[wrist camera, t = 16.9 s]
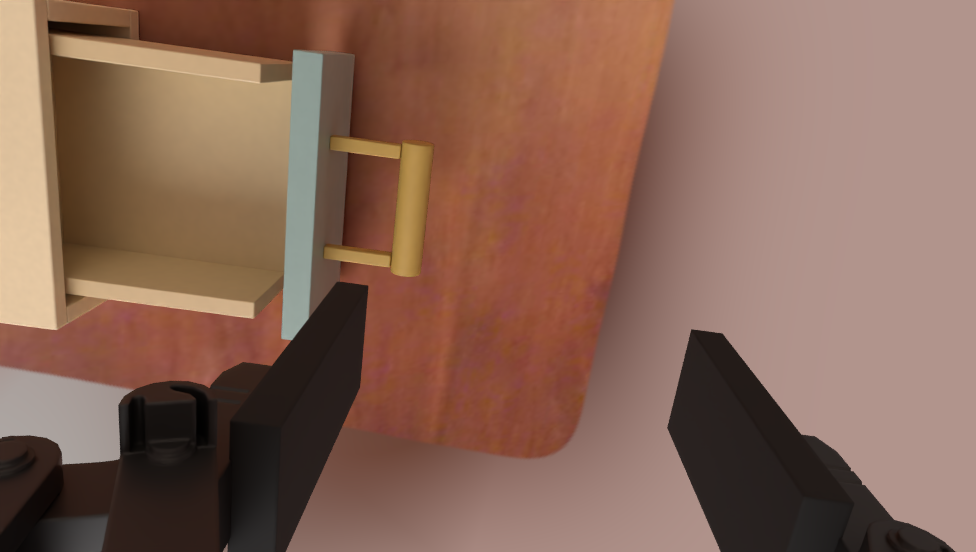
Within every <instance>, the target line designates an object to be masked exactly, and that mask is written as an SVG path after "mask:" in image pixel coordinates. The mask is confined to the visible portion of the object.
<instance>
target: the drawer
mask: <svg viewBox="0 0 976 552" xmlns="http://www.w3.org/2000/svg"><path fill="white" fill-rule="evenodd" d="M48 36H49V52H50V67H51V83H52V98H53V114H54V129H55V145H56V160H57V176H58V191H59V207H60V222H61V238H62V253H63V269H64V284H65V294H73V295H80V296H88V297H95V298H103V299H110V300H118V301H125V302H133V303H140V304H148V305H155V306H163V307H170V308H178V309H185V310H193V311H200V312H208V313H215V314H223V315H230V316H238V317H245V318H255V317H256V316H257V315H258V314H259V313H260V312H261V311H262V310H263V309H264V308H265V307H266V306H267V305H268V304H269V303H270V302H271V300H272V299H273V298H274V297H275V296H276V295H277V294H278V293H279V292H280V291H281V290H282V289H283V309H282V334H281V338H282V339H287V340H292V339H293V338H294V337H295V335H296V334H297V333H298V332H299V330H300V329H301V328H302V326H303V325H304V324H305V322H306V321H307V320H308V319H309V317H310V316H311V315H312V313H313V312H314V311H315V309H316V308H317V307H318V306H319V304H320V303H321V302H322V300H323V299H324V298H325V296H326V295H327V294H328V293H329V291H330V290H331V289H332V287H333V286H334V285H335V283H336V282H340V267H341V261H345V262H353V263H360V264H368V265H375V266H382V267H390V266H391V269H390V270H391V272H392V273H394V274H396V275H399V276H405V277H413V276H418V275H419V274H420V273H421V265H422V256H423V246H424V237H425V228H426V218H427V209H428V200H429V190H430V181H431V171H432V162H433V153H434V144H432V143H429V142H425V141H418V140H404V141H403V142H402V144H398V143H391V142H384V141H376V140H369V139H362V138H355V137H349V135H350V120H351V105H352V91H353V76H354V61H355V55H354V54H348V53H341V52H334V51H317V50H293V62H292V61H284V60H277V59H270V58H263V57H256V56H248V55H241V54H234V53H227V52H220V51H212V50H205V49H198V48H191V47H183V46H176V45H169V44H162V43H155V42H147V41H140V40H133V39H126V38H119V37H111V36H104V35H97V34H90V33H83V32H75V31H68V30H61V29H54V28H48ZM348 152H351V153H358V154H365V155H373V156H380V157H387V158H394V159H400V158H401V160H400V171H399V182H398V193H397V204H396V215H395V225H394V236H393V247H392V252H386V251H379V250H371V249H364V248H356V247H349V246H342V238H343V223H344V208H345V193H346V179H347V164H348Z"/></svg>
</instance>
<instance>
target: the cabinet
mask: <svg viewBox="0 0 976 552" xmlns="http://www.w3.org/2000/svg"><path fill="white" fill-rule="evenodd" d="M48 28H54V29H61V30H68V31H75V32H83V33H90V34H97V35H104V36H111V37H119V38H126V39H133V40H139V18H138V11H136V10H129V9H122V8H115V7H108V6H101V5H93V4H86V3H79V2H72V1H65V0H0V323H7V324H14V325H22V326H29V327H37V328H44V329H52V330H57V329H59V328H61V327H62V326H64V325H66V324H67V323H70V322H71V321H73V320H75V319H76V318H78V317H80V316H81V315H83V314H85V313H86V312H88V311H90V310H91V309H93V308H95V307H96V306H98V305H100V304H101V303H103V302H105V301H106V300H108V299H103V298H95V297H88V296H80V295H73V294H65V284H64V269H63V253H62V238H61V222H60V207H59V191H58V176H57V160H56V145H55V129H54V114H53V98H52V83H51V67H50V52H49V36H48Z"/></svg>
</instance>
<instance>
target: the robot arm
mask: <svg viewBox="0 0 976 552" xmlns="http://www.w3.org/2000/svg"><path fill="white" fill-rule="evenodd" d="M367 296H368V286H367V285H359V284H352V283H345V282H336V283H335V285H334V286H333V287H332V289H331V290H330V291H329V293H328V294H327V295H326V296H325V298H324V299H323V300H322V302H321V303H320V304H319V306H318V307H317V308H316V309H315V311H314V312H313V313H312V315H311V316H310V317H309V319H308V320H307V321H306V322H305V324H304V325H303V326H302V328H301V329H300V330H299V332H298V333H297V334H296V335H295V337H294V338H293V339H292V341H291V342H290V343H289V345H288V346H287V347H286V348H285V350H284V351H283V352H282V354H281V355H280V356H279V357H278V359H277V360H276V361H275V363H274V364H273V365H272V366H268V365H261V364H253V363H246V362H243V363H241V364H239V365H237V366H235V367H232V368H230V369H228V370H226V371H224V372H222V374H221V375H220V376H219V377H218V378H217V379H216V380H215V381H214V382H213V383H212V384H211V387H210V388H208V387H206V386H205V385H202V384H197V383H193V382H189V381H167V382H159V383H153V384H149V385H146V386H143V387H140V388H137V389H135V390H134V391H132V392H130V393H129V394H127V395H125V396H124V398H123V399H122V400H121V402H120V404H119V429H120V459H119V460H114V461H106V462H96V463H80V464H65V465H62V453H61V450H60V448H59V446H58V444H57V443H55V442H53V441H51V440H49V439H47V438H43V437H36V436H8V437H2V438H1V439H0V552H223V550H224V548H225V547H226V545H227V543H228V552H286V549H287V547H288V545H289V543H290V541H291V538H292V536H293V534H294V532H295V530H296V527H297V525H298V523H299V521H300V519H301V516H302V514H303V512H304V510H305V507H306V505H307V503H308V501H309V499H310V496H311V494H312V492H313V490H314V488H315V485H316V483H317V481H318V479H319V477H320V474H321V472H322V470H323V468H324V465H325V463H326V461H327V459H328V456H329V454H330V452H331V450H332V447H333V445H334V443H335V441H336V439H337V437H338V435H339V432H340V430H341V428H342V426H343V423H344V421H345V419H346V417H347V415H348V412H349V410H350V408H351V406H352V404H353V401H354V399H355V397H356V395H357V393H358V390H359V388H360V381H361V369H362V357H363V345H364V333H365V321H366V308H367ZM667 428H668V430H669V433H670V435H671V437H672V440H673V442H674V444H675V447H676V449H677V451H678V454H679V456H680V458H681V461H682V463H683V465H684V468H685V470H686V472H687V475H688V477H689V479H690V481H691V484H692V486H693V488H694V491H695V493H696V495H697V498H698V500H699V502H700V505H701V507H702V509H703V511H704V514H705V516H706V519H707V521H708V523H709V526H710V528H711V530H712V532H713V535H714V537H715V539H716V542H717V544H718V546H719V549H720V551H721V552H955V551H954V550H953V549H952V548H951V547H949V546H948V545H947V544H946V543H945V542H944V541H942V540H940V539H939V538H937V537H935V536H934V535H932V534H930V533H929V532H927V531H925V530H922V529H920V528H918V527H915V526H913V525H911V524H908V523H904V522H900V521H896V520H894V519H893V518H892V517H891V516H890V515H889V514H888V512H887V511H886V510H885V509H884V508H883V506H882V505H881V504H880V503H879V502H878V501H877V499H876V498H875V497H874V496H873V494H872V493H871V492H870V491H869V490H868V489H867V487H866V486H865V485H862V481H861V480H860V479H859V478H858V476H857V475H856V474H855V473H854V472H853V471H851V468H850V467H849V466H848V464H847V463H846V462H845V461H844V460H843V458H842V457H841V456H840V455H839V454H838V453H837V452H836V451H835V450H834V449H832V448H831V447H829V446H828V445H826V444H825V443H824V442H822V441H821V440H819V439H818V438H817V437H815V436H808V435H801V434H800V432H798V430H797V429H796V427H795V426H794V425H793V423H792V422H791V421H790V420H789V419H788V417H787V416H786V415H785V413H784V412H783V411H782V409H781V408H780V407H779V406H778V404H777V403H776V402H775V400H774V399H773V398H772V397H771V395H770V394H769V393H768V391H767V390H766V389H765V388H764V386H763V385H762V384H761V383H760V381H759V380H758V379H757V377H756V376H755V375H754V373H753V372H752V371H751V370H750V368H749V367H748V366H747V365H746V363H745V362H744V361H743V359H742V358H741V357H740V356H739V355H738V353H737V352H736V350H735V349H734V348H733V347H732V345H731V344H730V343H729V341H728V340H727V339H726V338H725V336H724V335H723V334H721V333H715V332H707V331H700V330H691V333H690V337H689V341H688V346H687V350H686V354H685V358H684V362H683V366H682V370H681V374H680V378H679V382H678V387H677V391H676V395H675V399H674V403H673V407H672V411H671V416H670V419H669V423H668V427H667Z"/></svg>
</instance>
